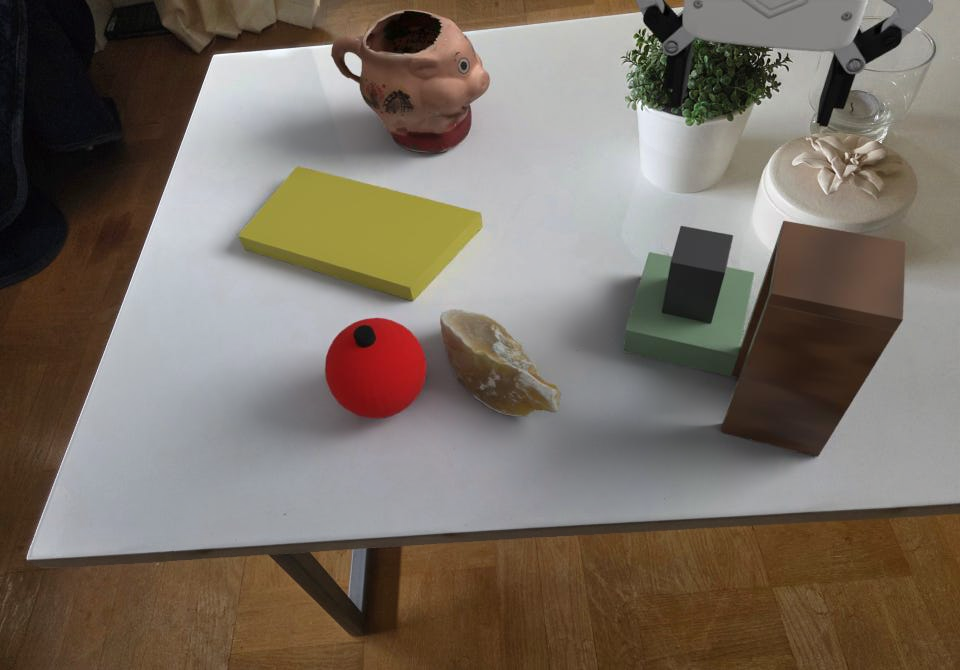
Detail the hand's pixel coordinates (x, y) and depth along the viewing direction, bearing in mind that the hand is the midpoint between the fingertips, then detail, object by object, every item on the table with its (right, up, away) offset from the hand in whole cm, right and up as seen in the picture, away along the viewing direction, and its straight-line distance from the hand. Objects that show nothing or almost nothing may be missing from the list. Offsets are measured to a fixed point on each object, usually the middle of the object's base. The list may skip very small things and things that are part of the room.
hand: (749, 105), depth 51 cm
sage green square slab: (+1, -15, +20) cm, 25 cm away
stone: (-16, -20, +18) cm, 32 cm away
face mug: (-26, +10, +41) cm, 50 cm away
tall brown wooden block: (+7, -23, +14) cm, 27 cm away
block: (+1, -13, +17) cm, 22 cm away
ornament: (-27, -22, +18) cm, 40 cm away
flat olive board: (-32, -5, +31) cm, 45 cm away
